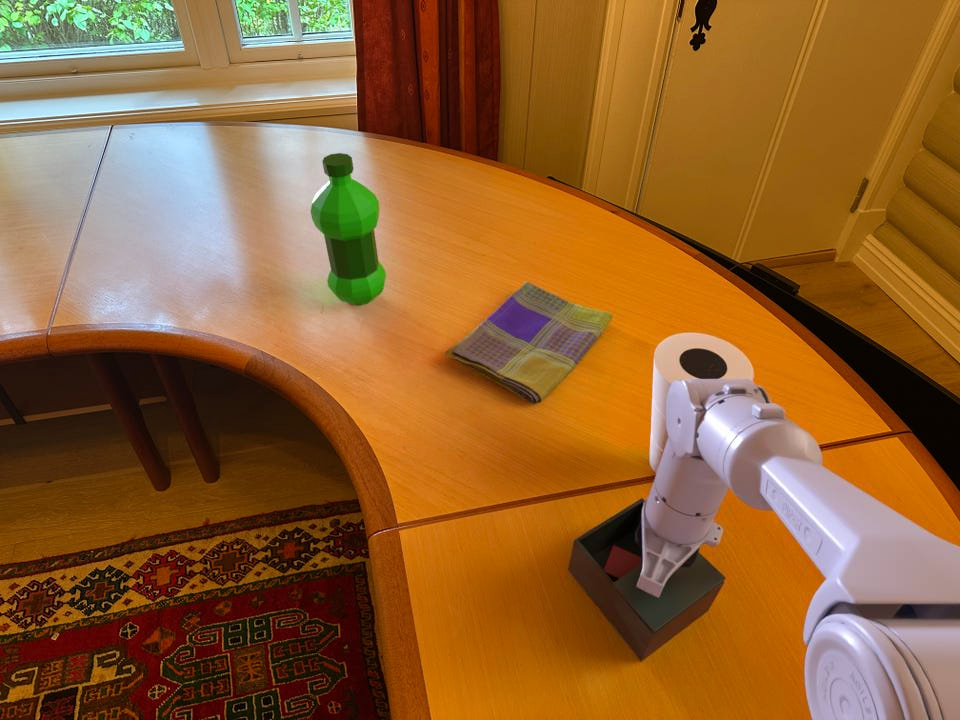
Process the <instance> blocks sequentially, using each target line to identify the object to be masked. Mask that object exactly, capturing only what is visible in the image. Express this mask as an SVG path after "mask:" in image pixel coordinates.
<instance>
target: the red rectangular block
mask: <svg viewBox="0 0 960 720" xmlns="http://www.w3.org/2000/svg"><path fill="white" fill-rule="evenodd" d="M642 563H643V558H642V557H639V556H637V555H635V554H632V553H630V552H628V551H626V550H623V549H621V548H619V547H617V546H614V545H613V547H612V549H611V552H610V554H609V557H608V559H607V562H606V564H605V567H604V569H603V570H604V571H605V573H606V574H607V575H608V576H609V577H610V578H611V580H612V581H613V582H615V581H617V580H618V579H620V578H621V577H623V576H624V575H626V574H627V573H629V572H630V571H632V570H633V569H635V568H636V567H638V566H639V565H641V564H642Z"/></svg>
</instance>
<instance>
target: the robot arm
mask: <svg viewBox="0 0 960 720" xmlns="http://www.w3.org/2000/svg"><path fill="white" fill-rule="evenodd" d="M666 427H667V434H668V440H667V443H666V446H665V449H664V452H663V455H662V458H661V461H660V464H659V467H658V470H657V473H655V477H654V479H653V483H652V485H651V488H650V491H649V493H648V495H647V497H646V499H644V500H645V502H644V505H643V508H642V519H641V521H640V524H639V526H638V528H637V531H636V534H635V542H636V544H637V545H638V546H639V547H640V548H641V549H642V552H643V566H642V572H641V575H640V578H639V581H638V583H637V587H638V588H640V589H642V590H644V591H645V592H647V593H649V594H652V595H654V596H656V597H658V598H659V597H660V594H661V592H662V590H663V587H664V585H665V583H666V581H667V580H668V578H669V577H670V576H671V575H672V574H673V573H674V572H675V571H676V570H677V569H678V568H679V567H686V568H689V567H691V566H692V565H693V564H694V562H695V561H696V558H697V555H698V552H699V553H700V549H701V547H702V546H704V545H708V546H710V547H718V545H719V544H720V542H721V539H722V535H723V533H724V528H723V527H722V525H720V524H718V523H716V522H714V520H715V518H716V516H717V514H718V512H719V510H720V507H721V506H722V503H723V501H724V499H725V497H726V495H727V493H728V491H729V489H730V491H731V492H732V493H733V494H734V495H735V497H737V498H738V499H739V501H741V502H742V503H744V504H745V505H747V506H749V507H751V508H753V509H756V510H759V511H766V512H774V513H775V514H776V516H777V517H778V519H780V520H781V522H782V523H783V524H784V526H785V527H786V528H787V530H788V531H789V533H790V534H791V535H792V537H794V539H795V540H796V542H797V543H798V544H799V546H800V547H801V548H802V549H803V551H804V552H805V554H806V555H807V556H808V557H809V558H810V560H811V561H812V563H813V564H814V565H815V567H816V568H817V569H818V571H819V572H820V574H822V576H823V577H824V579H825V580H824V581H823V582H822V583H821V585H820V586H819V588H817V590H816V591H815V593H814V595H812V596H813V597H812V598H811V601H810V603H809V606H808V609H807V612H806V616H805V620H804V626H803V633H802V638H803V639H802V640H803V643H804V645H805V647H807V649H806V652H805V659H804V687H805V694H806V700H807V704H808V709H809V712H810V717H811V720H960V546H959V545H957V544H954V543H952V542H950V541H947V540H945V539H943V538H941V537H939V536H937V535H936V534H933V533H931V532H930V531H928V530H927V529H925V528H923V527H922V526H920V525H919V524H918V523H915V522H914V521H912V520H910V519H909V518H907V517H906V516H905V515H903V514H901V513H900V512H898V511H896V510H894V509H893V508H891V507H889V506H888V505H887V504H884V502H882V501H880V500H878V499H876V498H875V497H873V496H872V495H870V494H869V493H867V492H865V491H864V490H862V489H861V488H859V487H857V486H855V485H854V484H853V483H851V482H849V481H847V480H846V479H845V478H843V477H841V476H840V475H838V474H836V473H835V472H833V471H831V470H830V469H828V468H827V467H825V466H823V455H822V450H821V448H820V445H819V444H818V442H817V440H816V439H815V438H814V437H813V436H812V435H811V434H810V433H809V432H808V431H807V430H805V429H804V428H802V427H801V426H800V425H798V424H797V423H795V422H793V421H792V420H791V419H789V418H788V417H786V409H785V408H784V407H782V406H781V405H779V404H778V403H773V402H772V401H771V398H770V396H769V394H768V392H767V391H766V389H765V388H764V387H763V386H761V385H757V384H756V383H755V382H754V380H753V381H751V380H749V379H685V380H683V381H679V380H675V381H674V382H673V383H672V384H671V386H670V388H669V391H668V395H667V400H666Z"/></svg>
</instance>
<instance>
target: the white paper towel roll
mask: <svg viewBox="0 0 960 720" xmlns="http://www.w3.org/2000/svg"><path fill="white" fill-rule="evenodd" d="M652 370H653V371H652V389H651V390H652V395H651V420H650V437H649V438H650V441H649V460H648V461H649V465H650V468H651V470H652V471H653V472H654V473H655V474H656V473H657V470H658V467H659V464H660V461H661V458H662V455H663V452H664V449H665V446H666V443H667V440H668V434H667V427H666V400H667V395H668V391H669V388H670V386H671V384H672V383H673V382H674V381H675V380H679V381H683V380H685V379H749V380H751V381H753V382H754V376H755V373H754V368H753V365H752V363H751V361H750V360H749V358H748V356H746V354H745V353H744V352H743V351H742V350H740V349H739V347H737V346H735V345H734V344H732V343H731V342H729V341H727V340H724V339H722V338H720V337H718V336H714V335H711V334H706V333H702V332H701V333H700V332H681V333H675V334H673V335H670V336H668V337H666V338H664V339H662V341H660V342H659V343H658V344H657V346H656V348H655V350H654V352H653V369H652Z"/></svg>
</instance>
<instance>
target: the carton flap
mask: <svg viewBox="0 0 960 720" xmlns="http://www.w3.org/2000/svg"><path fill="white" fill-rule="evenodd" d="M642 566H643V563H642V564H641V565H639V566H638V567H636V568H635V569H633V570H632V571H630V572H629V573H627V574H626V575H624V576H623V577H621V578H620V579H618V580H617V581H615V582H614V583H613V586H614V587H615V589H616V590H617V591H618V592H619V593H620V594H621V595H622V597H623V598H624V599H625V600H626V601H627V602H628V603H629V604H630V606H631V607H632V608H633V609H634V610H635V611H636V612H637V613H638V615H639V616H640V617H641V618H642V619H643V620H644V621H645V622H646V624H647V625H648V626H649V627H650V628H651V629H652V630H653V632H656V631H657V630H658V629H660V628H661V627H662V626H664V625H665V624H666V623H668V622H669V621H670V620H672V619H673V618H674V617H676V616H677V615H678V614H680V613H681V612H683V611H684V610H685V609H687V608H688V607H689V606H691V605H692V604H693V603H695V602H696V601H697V600H699V599H700V598H701V597H703V596H704V595H705V594H707V593H708V592H709V591H711V590H712V589H713V588H715V587H716V586H717V585H719V584H720V583H722V582H723V581H724V582H725V580H726V579H727V577H726V576H725V575H724V574H723V573H721V572H720V571H719V570H718V568H716V567H715V565H713V564H712V563H711V562H710V561H709V560H708V559H706V557H704V556H703V554H701V553H700V551H699V552H698V555H697V558H696V561H695V562H694V564H693V565H692V566H691V567H689V568H686V567H679V568H678V569H677V570H676V571H675V572H674V573H673V574H672V575H671V576H670V577H669V578H668V580H667V581H666V583H665V585H664V587H663V590H662V592H661V594H660V597H659V598H658V597H656V596H654V595H652V594H649V593H647V592H645V591H644V590H642V589H640V588H638V587H637V583H638V581H639V578H640V575H641V572H642Z"/></svg>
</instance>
